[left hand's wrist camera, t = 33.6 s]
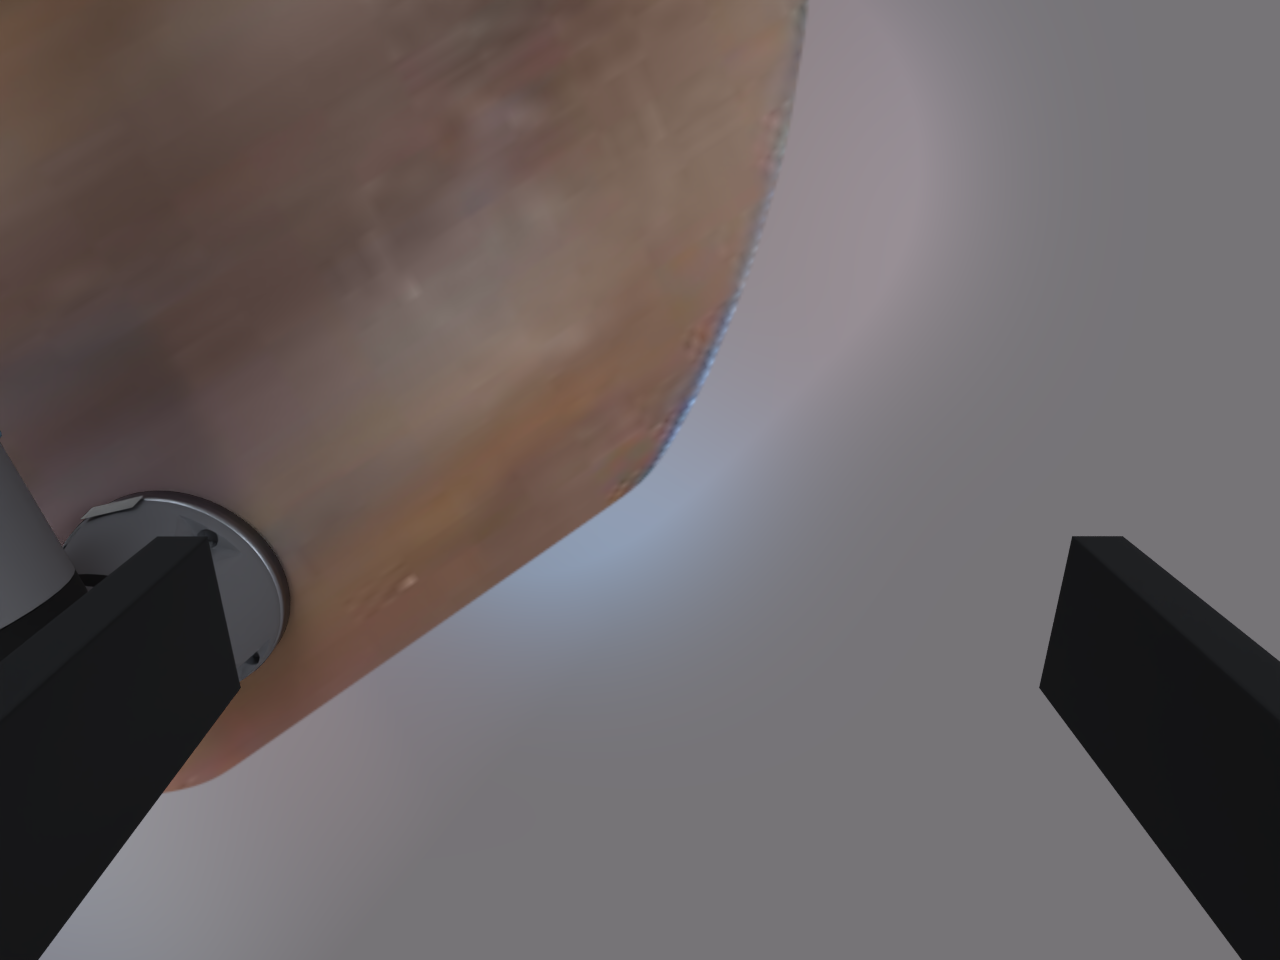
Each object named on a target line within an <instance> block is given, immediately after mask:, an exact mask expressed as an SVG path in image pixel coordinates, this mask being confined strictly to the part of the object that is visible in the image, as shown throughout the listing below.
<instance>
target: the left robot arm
mask: <svg viewBox="0 0 1280 960" xmlns="http://www.w3.org/2000/svg"><path fill="white" fill-rule="evenodd" d="M1 436H2V434H1V431H0V437H1ZM84 518H86V519H85V520H84V521H83V522H82V523H80V524H79V525H78V526H77V528H76V529H75V530H74V531H73V532H72V534H71V535H70V536H69V537H68V539H67V540H66V542H65V543H64V545H63V547H62V546H61V544H60V542H59V541H58V539H57V537H56V535H55V534H54V532H53V530H52V529H51V527H50V525H49V524H48V522H47V520H46V519H45V517H44V515H43V514H42V512H41V510H40V508H39V507H38V505H37V503H36V502H35V500H34V498H33V497H32V495H31V493H30V492H29V490H28V488H27V487H26V485H25V483H24V481H23V480H22V478H21V476H20V475H19V473H18V471H17V470H16V468H15V466H14V465H13V463H12V461H11V460H10V458H9V456H8V454H7V453H6V451H5V449H4V448H3V446H2V444H1V443H0V960H38V959H39V958H40V957H41V955H42V954H43V953H44V951H45V950H46V949H47V947H48V946H49V944H50V943H51V942H52V941H53V939H54V938H55V937H56V935H57V934H58V932H59V931H60V930H61V928H62V927H63V926H64V924H65V923H66V922H67V920H68V919H69V918H70V916H71V915H72V914H73V912H74V911H75V910H76V908H77V907H78V906H79V904H80V903H81V902H82V900H83V899H84V898H85V896H86V895H87V893H88V892H89V891H90V890H91V888H92V887H93V885H94V884H95V883H96V881H97V880H98V879H99V877H100V876H101V875H102V873H103V872H104V871H105V869H106V868H107V867H108V865H109V864H110V863H111V861H112V860H113V859H114V857H115V856H116V855H117V853H118V852H119V851H120V849H121V848H122V847H123V845H124V844H125V842H126V841H127V840H128V838H129V837H130V836H131V834H132V833H133V832H134V830H135V829H136V828H137V826H138V825H139V824H140V822H141V821H142V820H143V818H144V817H145V816H146V814H147V813H148V812H149V810H150V809H151V808H152V806H153V805H154V804H155V802H156V801H157V800H158V798H159V797H160V795H161V794H162V793H163V791H164V790H165V789H166V787H167V786H168V785H169V783H170V782H171V781H172V779H173V778H174V777H175V775H176V774H177V773H178V771H179V770H180V769H181V767H182V766H183V765H184V763H185V762H186V761H187V759H188V758H189V757H190V755H191V754H192V753H193V751H194V750H195V748H196V747H197V746H198V744H199V743H200V742H201V740H202V739H203V738H204V736H205V735H206V734H207V732H208V731H209V730H210V728H211V727H212V726H213V724H214V723H215V722H216V720H217V719H218V718H219V716H220V715H221V714H222V712H223V711H224V710H225V708H226V707H227V706H228V704H229V703H230V701H231V700H232V699H233V697H234V696H235V695H236V693H237V692H238V691H239V689H240V688H241V687H240V681H241V680H243V679H244V678H246V677H247V676H248V675H250V674H251V673H252V672H254V671H255V670H256V669H258V668H259V667H260V666H261V665H262V664H263V663H264V661H265V660H266V659H267V658H268V656H269V655H270V654H271V652H272V651H273V650H274V648H275V647H276V646H277V644H278V643H279V641H280V639H281V638H282V636H283V634H284V631H285V629H286V626H287V623H288V618H289V613H290V595H289V588H288V584H287V580H286V577H285V574H284V571H283V569H282V567H281V565H280V563H279V561H278V559H277V557H276V555H275V554H274V552H273V551H272V549H271V548H270V547H269V545H268V544H267V543H266V541H265V540H264V539H263V538H262V537H261V536H260V535H259V534H258V533H257V532H256V531H255V530H254V529H253V528H252V527H251V526H250V525H249V524H247V523H246V522H245V521H244V520H242V519H241V518H240V517H238V516H237V515H235V514H234V513H232V512H231V511H229V510H227V509H225V508H224V507H222V506H220V505H217V504H215V503H213V502H211V501H208V500H205V499H203V498H200V497H196V496H193V495H189V494H184V493H179V492H171V491H147V492H140V493H135V494H131V495H127V496H124V497H122V498H119V499H116V500H114V501H113V502H111V503H109V504H105V505H100V506H96V507H92V508H91V509H90V510H89V511H88V512H87V513H86V514H85V515H84V516H83V517H82V518H81V519H84ZM1039 688H1040V689H1041V691H1042V692H1043V693H1044V695H1045V696H1046V697H1047V699H1048V700H1049V701H1050V703H1051V704H1052V706H1053V707H1054V708H1055V710H1056V711H1057V712H1058V714H1059V715H1060V716H1061V718H1062V719H1063V720H1064V722H1065V723H1066V724H1067V726H1068V727H1069V728H1070V730H1071V731H1072V732H1073V734H1074V735H1075V736H1076V738H1077V739H1078V740H1079V742H1080V743H1081V744H1082V746H1083V747H1084V748H1085V750H1086V751H1087V753H1088V754H1089V755H1090V756H1091V758H1092V759H1093V760H1094V762H1095V763H1096V765H1097V766H1098V767H1099V769H1100V770H1101V771H1102V773H1103V774H1104V775H1105V777H1106V778H1107V779H1108V781H1109V782H1110V783H1111V785H1112V786H1113V787H1114V789H1115V790H1116V791H1117V793H1118V794H1119V795H1120V797H1121V798H1122V799H1123V801H1124V802H1125V803H1126V805H1127V806H1128V808H1129V809H1130V810H1131V812H1132V813H1133V814H1134V816H1135V817H1136V818H1137V820H1138V821H1139V822H1140V824H1141V825H1142V826H1143V828H1144V829H1145V830H1146V832H1147V833H1148V834H1149V836H1150V837H1151V838H1152V840H1153V841H1154V842H1155V844H1156V845H1157V846H1158V848H1159V849H1160V851H1161V852H1162V853H1163V855H1164V856H1165V857H1166V859H1167V860H1168V861H1169V863H1170V864H1171V865H1172V867H1173V868H1174V869H1175V871H1176V872H1177V873H1178V875H1179V876H1180V877H1181V879H1182V880H1183V881H1184V883H1185V884H1186V885H1187V887H1188V888H1189V890H1190V891H1191V892H1192V893H1193V895H1194V896H1195V897H1196V899H1197V900H1198V902H1199V903H1200V904H1201V906H1202V907H1203V908H1204V910H1205V911H1206V912H1207V914H1208V915H1209V916H1210V918H1211V919H1212V920H1213V922H1214V923H1215V924H1216V926H1217V927H1218V928H1219V930H1220V931H1221V932H1222V934H1223V935H1224V937H1225V938H1226V939H1227V941H1228V942H1229V943H1230V945H1231V946H1232V947H1233V949H1234V950H1235V951H1236V953H1237V954H1238V955H1239V957H1240V958H1241V959H1242V960H1280V661H1278V660H1277V659H1276V658H1275V657H1273V656H1272V655H1271V654H1270V653H1268V652H1267V651H1266V650H1265V649H1263V648H1262V647H1261V646H1260V645H1258V644H1257V643H1256V642H1255V641H1253V640H1252V639H1251V638H1250V637H1248V636H1247V635H1246V634H1245V633H1243V632H1242V631H1241V630H1240V629H1238V628H1237V627H1236V626H1235V625H1233V624H1232V623H1231V622H1229V621H1228V620H1227V619H1226V618H1224V617H1223V616H1222V615H1221V614H1219V613H1218V612H1217V611H1216V610H1214V609H1213V608H1212V607H1211V606H1209V605H1208V604H1207V603H1206V602H1204V601H1203V600H1202V599H1201V598H1199V597H1198V596H1197V595H1196V594H1194V593H1193V592H1192V591H1191V590H1189V589H1188V588H1187V587H1186V586H1184V585H1183V584H1182V583H1181V582H1179V581H1178V580H1177V579H1176V578H1174V577H1173V576H1172V575H1171V574H1169V573H1168V572H1167V571H1166V570H1164V569H1163V568H1162V567H1160V566H1159V565H1158V564H1157V563H1155V562H1154V561H1153V560H1152V559H1150V558H1149V557H1148V556H1147V555H1145V554H1144V553H1143V552H1142V551H1140V550H1139V549H1138V548H1137V547H1135V546H1134V545H1133V544H1132V543H1130V542H1129V541H1128V540H1127V539H1125V538H1124V537H1123V536H1072V540H1071V545H1070V549H1069V554H1068V559H1067V563H1066V568H1065V572H1064V577H1063V582H1062V586H1061V591H1060V595H1059V600H1058V604H1057V609H1056V613H1055V618H1054V623H1053V627H1052V632H1051V636H1050V641H1049V646H1048V650H1047V655H1046V659H1045V664H1044V669H1043V673H1042V678H1041V682H1040V687H1039Z"/></svg>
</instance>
